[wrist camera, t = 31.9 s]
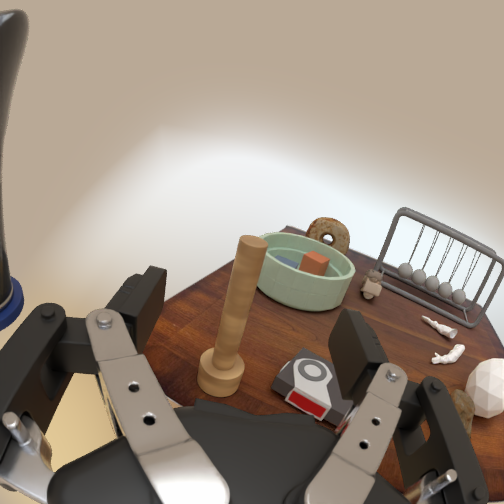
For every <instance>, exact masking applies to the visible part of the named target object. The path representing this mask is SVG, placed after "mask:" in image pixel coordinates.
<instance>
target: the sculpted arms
mask: <svg viewBox="0 0 504 504" xmlns="http://www.w3.org/2000/svg"><path fill="white" fill-rule="evenodd" d="M422 318H423V320H424V321H426V322H427V323H429V324H430V325H431V326H432V327H433V328H435V329H437V331H438V332H439V333H441V334H442V335H445V336H447V337H449V338H454V336H455V335H456V334H457V332H458V331H457V329H451V328H450V327H447V326H445V325H441V324H438V323H437V321H434V322H433V321H431V320H430V319H429V318H427V317H424V316H422ZM464 349H465V347H464V345H455V346H454V348H453V350H451V351H450V352H449V354H447V355H444V356H440V355H438V354H436V353H435V355H436V357H435V358H432V362H433V364H436V363H443V364H446V363H453V362H455V361H456V360H457V359H458V358H459V356H460V355H461V354H462V352H463V351H464Z"/></svg>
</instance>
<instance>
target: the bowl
mask: <svg viewBox="0 0 504 504" xmlns="http://www.w3.org/2000/svg"><path fill="white" fill-rule="evenodd" d="M259 238H261V239H263V240H265V241H266V242H267V243H268V248H267V252H266V255H265V259H264V262H263V266H262V269H261V273H260V276H259V280H258V283H257V286H258V287H259V289H260V290H261V291H262V292H264V293H265V294H266V295H267V296H269V297H270V298H272V299H274V300H275V301H277V302H279V303H281V304H284V305H286V306H289V307H292V308H295V309H299V310H305V311H324V310H328V309H333V308H335V307H337V306H339V305H340V304H341V303H342V301H343V299H344V297H345V294H346V292H347V290H348V287H349V285H350V283H351V280H352V278H353V275H354V273H355V268H354V265H353V264H352V262H351V261H350V260H349V259H348V258H347V257H346V256H344V255H343V254H342V253H340V252H339V251H338V250H336V249H334V248H332V247H330V246H328V245H326V244H324V243H321V242H319V241H317V240H314V239H311V238H308V237H304V236H301V235H296V234H291V233H280V232H274V233H266V234H264V235H262V236H260V237H259ZM311 251H315V252H317V253H319V254H321V255H323V256H325V257H327V258H329V259H330V261H329V264H328V267H327V269H326V272H325V274H324V276H318V275H313V274H310V273H307V272H303V271H300V270H299V267H300V264H301V261H302V258H303V255H304V254H306V253H308V252H311ZM277 255H279V256H282V257H284V258H287V259H289V260H292V261H295V262H297V263H299V264H298V267H297V269H295V268H293V267H290V266H288V265H286V264H284V263H282V262H280V261H279V260H277V259H276V258H275V257H276V256H277Z"/></svg>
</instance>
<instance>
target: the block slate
mask: <svg viewBox="0 0 504 504" xmlns="http://www.w3.org/2000/svg"><path fill="white" fill-rule="evenodd" d="M275 258H276V259H277V260H279V261H280V262H282V263H284V264H286V265H288V266H290V267H293V268H295V269H297V267H298V264H299V263H297V262H295V261H292V260H289V259H287V258H284V257H282V256H279V255H277V256H276V257H275Z"/></svg>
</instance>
